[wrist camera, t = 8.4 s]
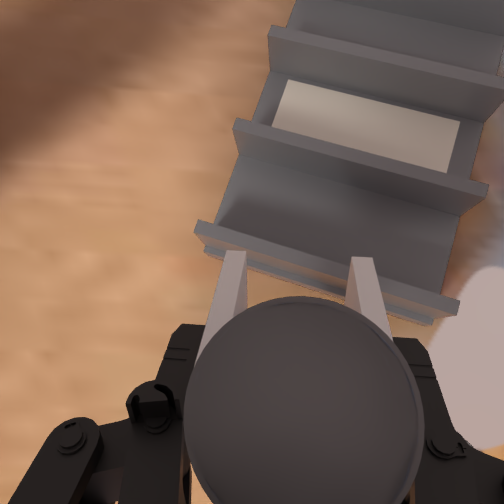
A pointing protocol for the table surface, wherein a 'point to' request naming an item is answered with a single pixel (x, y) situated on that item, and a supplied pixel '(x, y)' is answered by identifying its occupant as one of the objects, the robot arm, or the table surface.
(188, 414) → the grey cylinder
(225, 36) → the table surface
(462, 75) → the rack
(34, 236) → the table surface
